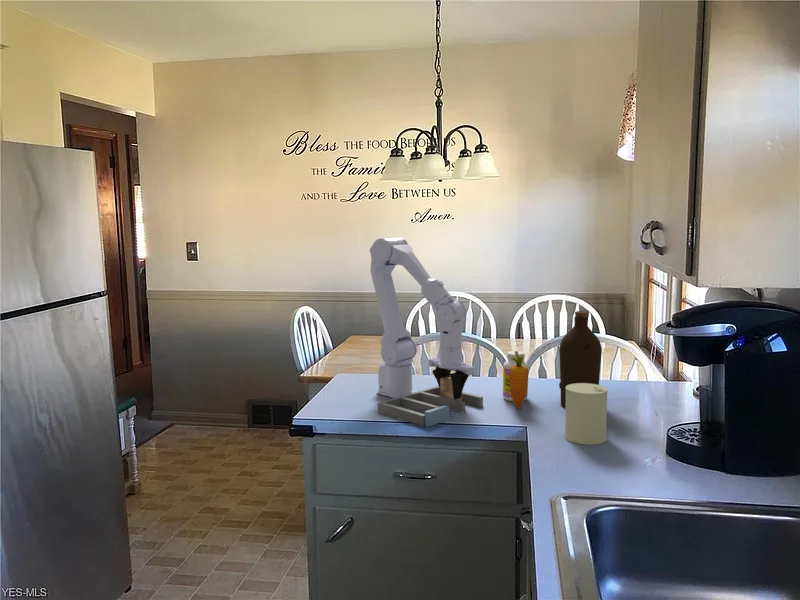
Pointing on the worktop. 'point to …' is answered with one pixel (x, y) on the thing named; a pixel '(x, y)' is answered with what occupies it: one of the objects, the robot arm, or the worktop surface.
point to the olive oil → (579, 355)
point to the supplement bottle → (506, 374)
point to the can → (586, 413)
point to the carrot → (518, 380)
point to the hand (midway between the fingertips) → (450, 396)
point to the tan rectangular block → (447, 388)
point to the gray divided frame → (426, 406)
